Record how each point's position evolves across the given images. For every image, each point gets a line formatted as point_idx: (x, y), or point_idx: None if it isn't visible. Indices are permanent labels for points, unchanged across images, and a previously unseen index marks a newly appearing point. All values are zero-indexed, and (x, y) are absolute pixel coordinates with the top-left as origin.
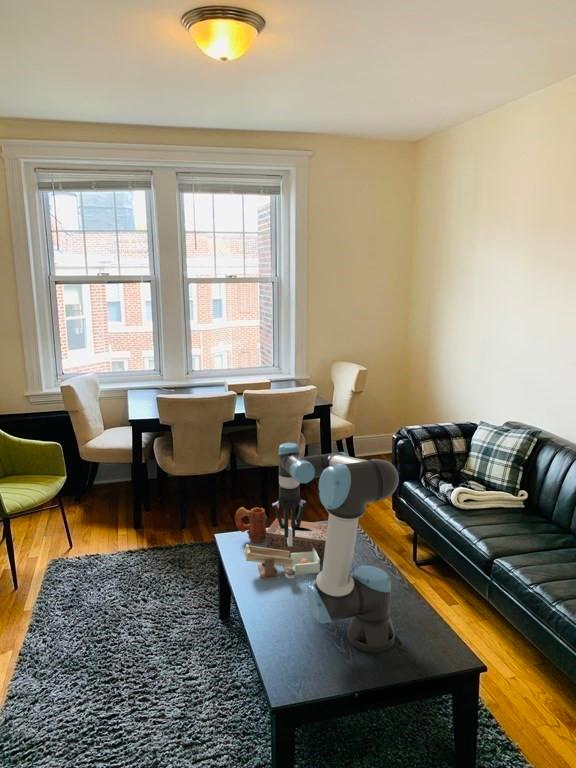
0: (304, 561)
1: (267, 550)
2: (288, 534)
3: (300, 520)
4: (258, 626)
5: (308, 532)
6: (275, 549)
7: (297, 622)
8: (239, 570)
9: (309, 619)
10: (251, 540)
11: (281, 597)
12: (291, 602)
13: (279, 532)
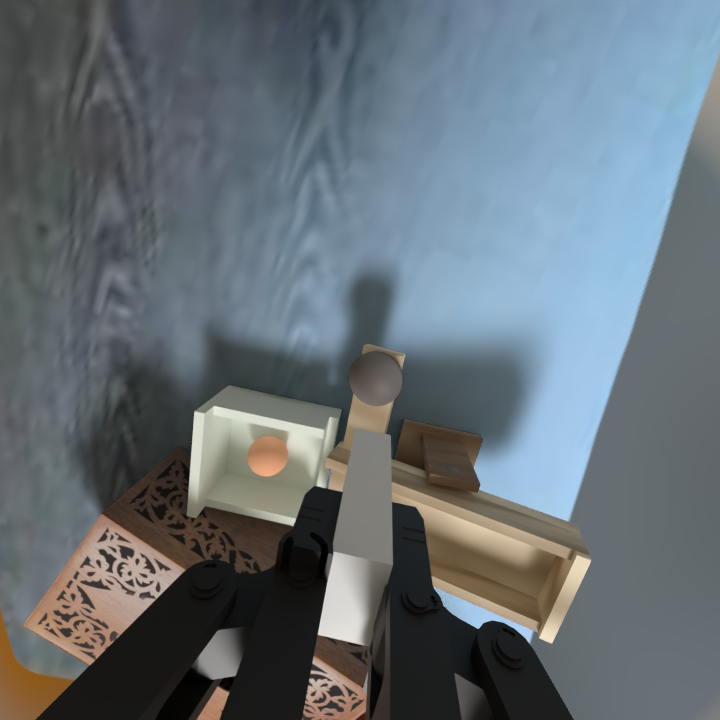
0: (267, 452)
1: None
2: (390, 516)
3: (87, 695)
4: (665, 82)
5: None
6: None
7: (475, 40)
8: None
9: (410, 42)
10: None
11: (455, 276)
12: (430, 220)
13: (312, 674)
